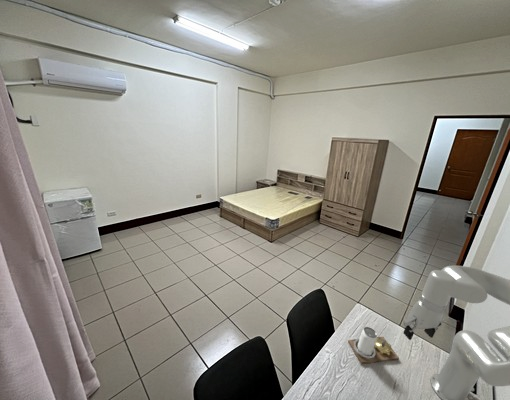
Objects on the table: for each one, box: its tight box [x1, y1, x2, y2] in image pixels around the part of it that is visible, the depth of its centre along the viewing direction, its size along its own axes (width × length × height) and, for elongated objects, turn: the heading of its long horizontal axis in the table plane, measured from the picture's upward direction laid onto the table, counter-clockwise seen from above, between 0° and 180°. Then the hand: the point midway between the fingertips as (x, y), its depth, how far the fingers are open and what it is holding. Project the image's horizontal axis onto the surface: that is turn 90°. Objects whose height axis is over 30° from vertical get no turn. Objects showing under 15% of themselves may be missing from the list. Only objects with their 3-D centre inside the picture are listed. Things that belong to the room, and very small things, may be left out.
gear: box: [374, 336, 394, 357], centre depth 107 cm, size 9×9×4 cm
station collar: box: [353, 338, 376, 360], centre depth 106 cm, size 10×10×1 cm
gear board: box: [348, 336, 400, 365], centre depth 107 cm, size 20×11×2 cm, turn 99°
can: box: [358, 326, 378, 356], centre depth 104 cm, size 6×6×12 cm
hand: (417, 335), depth 85 cm, fingers open, 9 cm apart
